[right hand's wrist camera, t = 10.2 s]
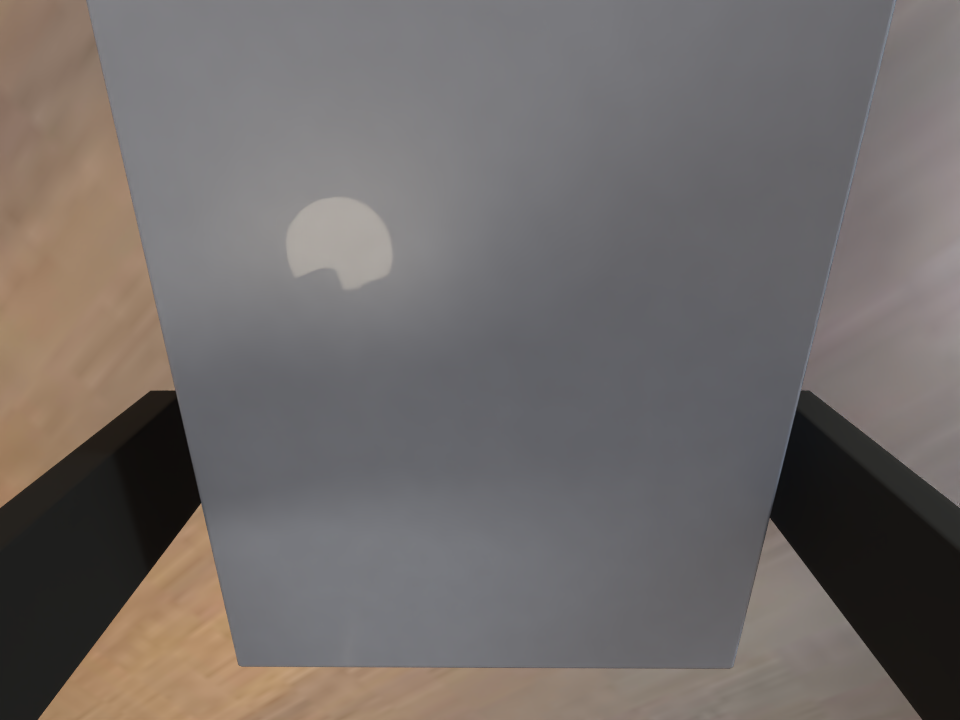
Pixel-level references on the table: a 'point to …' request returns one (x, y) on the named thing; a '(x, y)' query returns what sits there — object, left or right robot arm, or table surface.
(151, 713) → the table surface
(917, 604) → the right robot arm
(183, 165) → the cabinet
